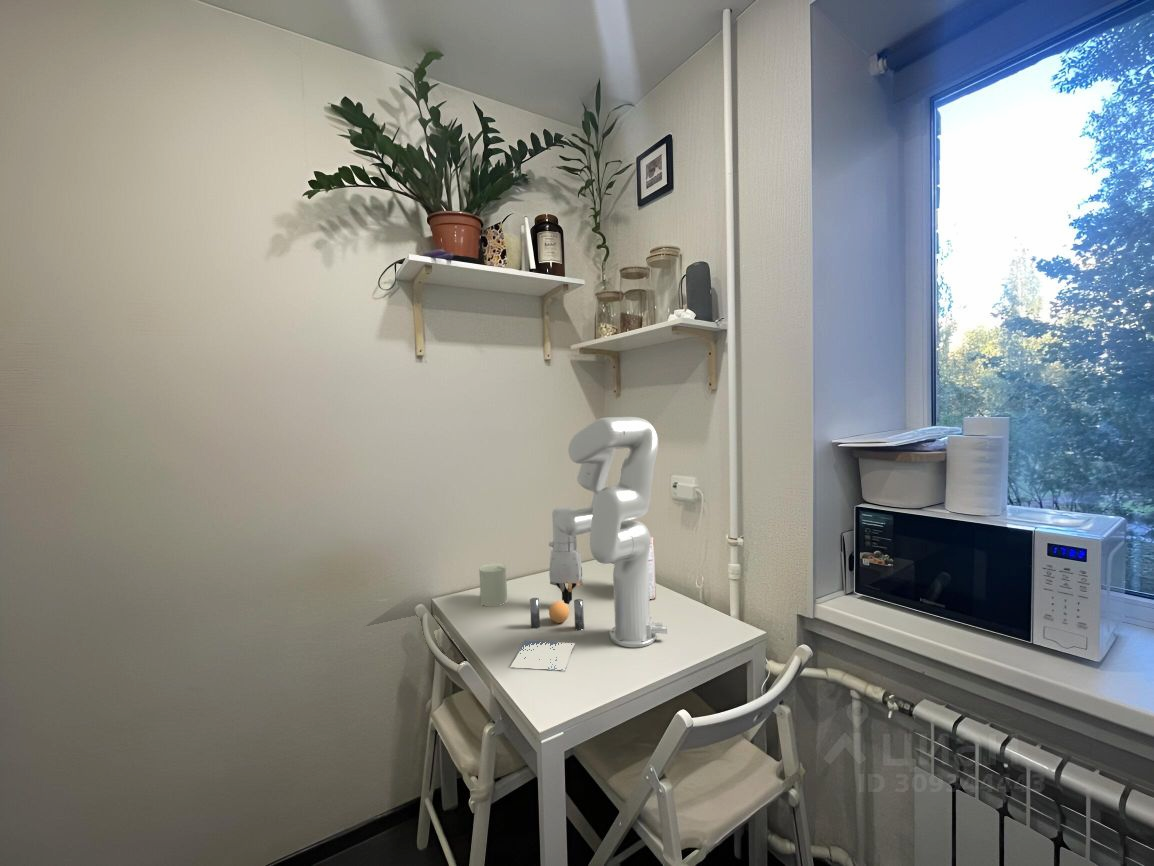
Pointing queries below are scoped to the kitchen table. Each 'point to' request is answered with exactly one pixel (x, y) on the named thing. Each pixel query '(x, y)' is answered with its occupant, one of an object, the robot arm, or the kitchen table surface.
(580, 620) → the inner post
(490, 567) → the can
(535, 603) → the outer post
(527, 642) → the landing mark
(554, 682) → the kitchen table surface
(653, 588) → the cracker box
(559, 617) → the ball
